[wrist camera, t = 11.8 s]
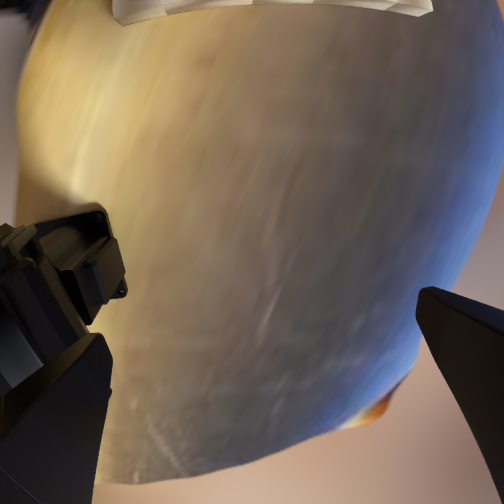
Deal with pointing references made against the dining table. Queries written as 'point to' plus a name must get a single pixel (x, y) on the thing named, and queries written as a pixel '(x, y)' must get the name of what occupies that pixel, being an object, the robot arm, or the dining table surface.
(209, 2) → the board
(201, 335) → the dining table surface
